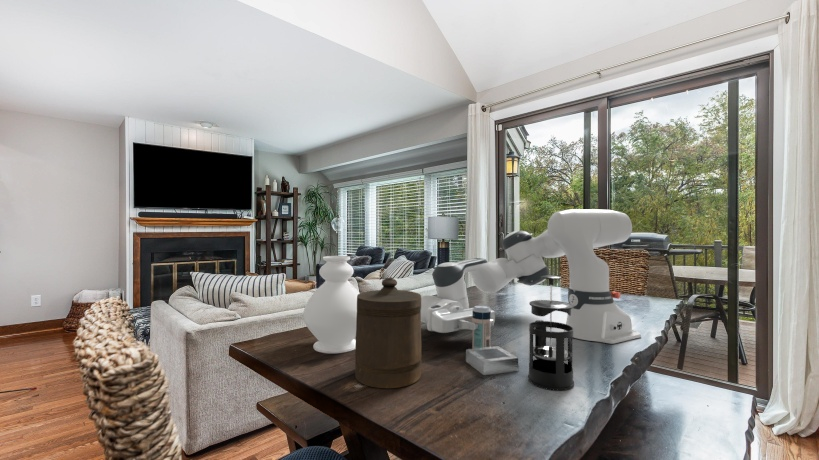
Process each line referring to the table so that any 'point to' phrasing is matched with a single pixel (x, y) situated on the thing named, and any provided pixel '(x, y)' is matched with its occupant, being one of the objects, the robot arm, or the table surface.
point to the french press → (549, 359)
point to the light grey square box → (491, 360)
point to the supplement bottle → (481, 326)
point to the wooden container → (388, 337)
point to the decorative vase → (333, 308)
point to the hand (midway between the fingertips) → (484, 325)
